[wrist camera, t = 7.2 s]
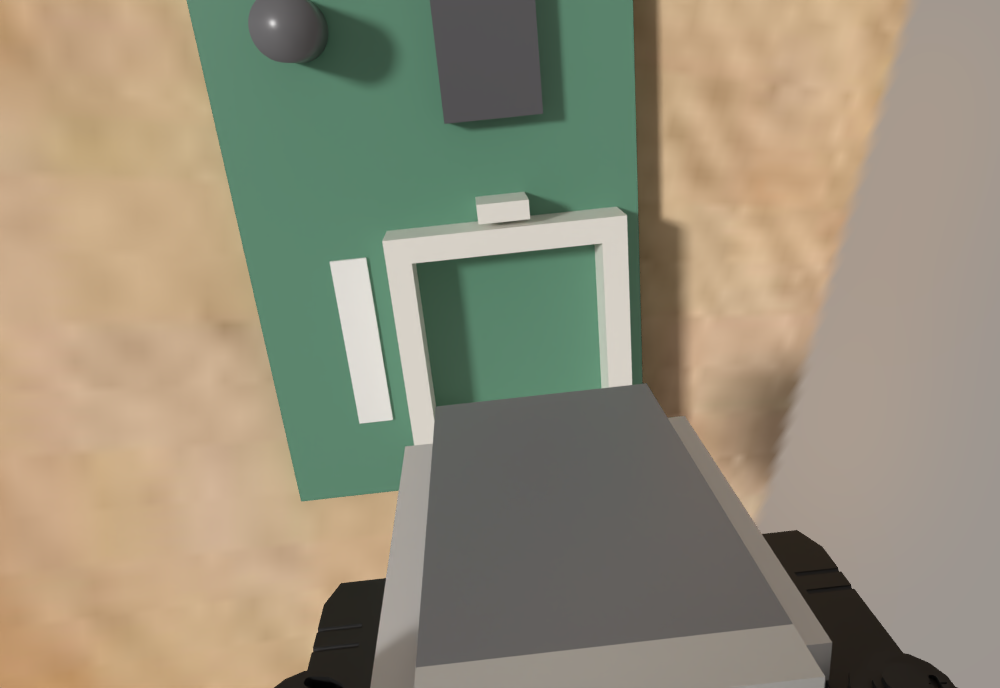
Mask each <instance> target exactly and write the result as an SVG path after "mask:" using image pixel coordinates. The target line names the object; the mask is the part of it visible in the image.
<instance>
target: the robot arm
mask: <svg viewBox="0 0 1000 688" xmlns="http://www.w3.org/2000/svg"><path fill="white" fill-rule="evenodd" d="M668 419H669V421H670V423H671V424H672V426H673V428H674V429H675V431H676V432H677V434H678V436H679V437H680V439H681V441H682V442H683V444H684V446H685V447H686V449H687V451H688V452H689V454H690V455H691V457H692V459H693V460H694V462H695V464H696V465H697V467H698V469H699V470H700V472H701V474H702V475H703V477H704V478H705V480H706V482H707V483H708V485H709V487H710V488H711V490H712V492H713V493H714V495H715V497H716V498H717V500H718V501H719V503H720V505H721V506H722V508H723V510H724V511H725V513H726V515H727V516H728V518H729V520H730V521H731V523H732V524H733V526H734V528H735V529H736V531H737V533H738V534H739V536H740V538H741V539H742V541H743V543H744V544H745V546H746V547H747V549H748V551H749V552H750V554H751V556H752V557H753V559H754V561H755V562H756V564H757V566H758V567H759V569H760V570H761V572H762V574H763V575H764V577H765V579H766V580H767V582H768V584H769V585H770V587H771V589H772V590H773V592H774V593H775V595H776V597H777V598H778V600H779V602H780V603H781V605H782V607H783V608H784V610H785V612H786V613H787V615H788V617H789V618H790V620H791V621H792V623H793V625H794V626H795V628H796V630H797V631H798V633H799V635H800V636H801V638H802V640H803V641H804V643H805V644H806V646H807V648H808V649H809V651H810V653H811V654H812V656H813V658H814V659H815V661H816V663H817V664H818V666H819V667H820V669H821V671H822V672H823V674H824V676H825V684H824V688H957V687H955V686H954V684H953V683H952V682H951V681H950V679H949V678H948V677H947V676H946V675H945V674H943V673H942V672H941V671H939V670H938V669H937V668H935V667H934V666H933V665H931V664H930V663H928V662H925V661H923V660H921V659H919V658H916V657H914V656H912V655H909V654H904V653H903V652H902V651H901V650H900V648H899V647H898V646H897V645H896V643H895V642H894V641H893V639H892V638H891V637H890V635H889V634H888V633H887V631H886V630H885V629H884V627H883V626H882V625H881V623H880V622H879V621H878V620H877V618H876V617H875V616H874V614H873V613H872V612H871V611H870V609H869V608H868V606H867V605H866V604H865V602H864V601H863V600H862V598H861V597H860V596H859V595H858V593H857V592H856V591H855V589H852V588H851V584H850V583H849V581H848V580H847V579H846V577H845V576H844V575H843V574H842V572H839V571H838V567H837V566H836V564H835V563H834V562H833V560H832V559H831V558H830V556H829V555H828V554H827V552H826V551H825V550H824V549H823V547H822V546H820V545H818V544H817V543H816V542H814V541H813V540H811V539H810V538H808V537H807V536H805V535H804V534H802V533H801V532H799V531H797V530H795V531H786V532H777V533H768V534H761V532H760V531H759V529H758V528H757V526H756V525H755V523H754V521H753V520H752V518H751V517H750V515H749V514H748V512H747V511H746V509H745V508H744V506H743V505H742V503H741V502H740V500H739V498H738V497H737V495H736V494H735V492H734V491H733V489H732V488H731V486H730V485H729V483H728V482H727V480H726V478H725V477H724V475H723V474H722V472H721V471H720V469H719V468H718V466H717V465H716V463H715V462H714V460H713V459H712V457H711V455H710V454H709V452H708V451H707V449H706V448H705V446H704V445H703V443H702V442H701V440H700V439H699V437H698V436H697V434H696V432H695V431H694V429H693V428H692V426H691V425H690V423H689V422H688V420H687V419H686V417H685V416H679V417H670V418H668ZM432 447H433V443H432V444H423V445H414V446H405V452H404V459H403V465H402V472H401V479H400V486H399V493H398V500H397V507H396V514H395V521H394V527H393V534H392V541H391V548H390V555H389V562H388V569H387V576H386V578H384V579H375V580H366V581H357V582H349V583H341V584H340V585H339V586H338V588H337V589H336V590H335V592H334V593H333V594H332V595H331V597H330V598H329V599H328V601H327V602H326V603H325V604H324V607H323V611H322V615H321V619H320V623H319V627H318V633H317V635H316V639H315V642H314V646H313V653H312V654H311V658H310V662H309V666H308V670H307V671H304V672H301V673H299V674H297V675H294V676H292V677H289V678H287V679H285V680H284V681H282V682H281V683H280V684H278V685H277V686H276V687H274V688H414V681H415V668H416V655H417V642H418V629H419V616H420V603H421V590H422V577H423V564H424V551H425V538H426V525H427V512H428V499H429V486H430V473H431V460H432Z"/></svg>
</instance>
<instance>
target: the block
mask: <svg viewBox="0 0 1000 688" xmlns="http://www.w3.org/2000/svg"><path fill="white" fill-rule="evenodd" d="M824 684H825V676H824V674H823V672H822V671H821V669H820V667H819V666H818V664H817V663H816V661H815V659H814V658H813V656H812V654H811V653H810V651H809V649H808V648H807V646H806V644H805V643H804V641H803V640H802V638H801V636H800V635H799V633H798V631H797V630H796V628H795V626H794V625H793V623H792V621H791V620H790V618H789V617H788V615H787V613H786V612H785V610H784V608H783V607H782V605H781V603H780V602H779V600H778V598H777V597H776V595H775V593H774V592H773V590H772V589H771V587H770V585H769V584H768V582H767V580H766V579H765V577H764V575H763V574H762V572H761V570H760V569H759V567H758V566H757V564H756V562H755V561H754V559H753V557H752V556H751V554H750V552H749V551H748V549H747V547H746V546H745V544H744V543H743V541H742V539H741V538H740V536H739V534H738V533H737V531H736V529H735V528H734V526H733V524H732V523H731V521H730V520H729V518H728V516H727V515H726V513H725V511H724V510H723V508H722V506H721V505H720V503H719V501H718V500H717V498H716V497H715V495H714V493H713V492H712V490H711V488H710V487H709V485H708V483H707V482H706V480H705V478H704V477H703V475H702V474H701V472H700V470H699V469H698V467H697V465H696V464H695V462H694V460H693V459H692V457H691V455H690V454H689V452H688V451H687V449H686V447H685V446H684V444H683V442H682V441H681V439H680V437H679V436H678V434H677V432H676V431H675V429H674V428H673V426H672V424H671V423H670V421H669V419H668V418H667V416H666V414H665V413H664V411H663V409H662V408H661V406H660V405H659V403H658V401H657V400H656V398H655V396H654V395H653V393H652V391H651V390H650V388H649V386H648V385H647V383H645V384H636V385H627V386H618V387H609V388H600V389H591V390H582V391H572V392H563V393H554V394H545V395H536V396H527V397H518V398H509V399H500V400H491V401H482V402H473V403H463V404H454V405H445V406H436V408H435V421H434V434H433V447H432V460H431V473H430V486H429V499H428V512H427V525H426V538H425V551H424V564H423V577H422V590H421V603H420V616H419V629H418V642H417V655H416V668H415V681H414V688H824Z"/></svg>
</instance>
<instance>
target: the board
mask: <svg viewBox="0 0 1000 688" xmlns="http://www.w3.org/2000/svg"><path fill="white" fill-rule="evenodd" d="M187 4H188V8H189V13H190V17H191V21H192V26H193V30H194V35H195V39H196V43H197V48H198V52H199V56H200V61H201V65H202V70H203V74H204V78H205V83H206V87H207V91H208V96H209V100H210V105H211V109H212V113H213V118H214V122H215V126H216V131H217V135H218V140H219V144H220V148H221V153H222V157H223V161H224V166H225V170H226V174H227V179H228V183H229V188H230V192H231V196H232V201H233V205H234V209H235V214H236V218H237V223H238V227H239V231H240V236H241V240H242V244H243V249H244V253H245V258H246V262H247V266H248V271H249V275H250V279H251V284H252V288H253V293H254V297H255V301H256V306H257V310H258V314H259V319H260V323H261V328H262V332H263V336H264V341H265V345H266V349H267V354H268V358H269V363H270V367H271V371H272V376H273V380H274V384H275V389H276V393H277V398H278V402H279V406H280V411H281V415H282V419H283V424H284V428H285V433H286V437H287V441H288V446H289V450H290V454H291V459H292V463H293V467H294V472H295V476H296V481H297V485H298V489H299V494H300V498H301V501H309V500H318V499H327V498H336V497H345V496H354V495H363V494H372V493H380V492H389V491H398V490H399V486H400V479H401V472H402V465H403V459H404V452H405V446H414V445H423V444H432V443H433V434H434V421H435V408H436V406H445V405H454V404H463V403H473V402H482V401H491V400H500V399H509V398H518V397H527V396H536V395H545V394H554V393H563V392H572V391H582V390H591V389H600V388H609V387H618V386H627V385H636V384H643V382H642V342H641V303H640V264H639V224H638V185H637V145H636V106H635V66H634V27H633V0H187Z"/></svg>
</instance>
